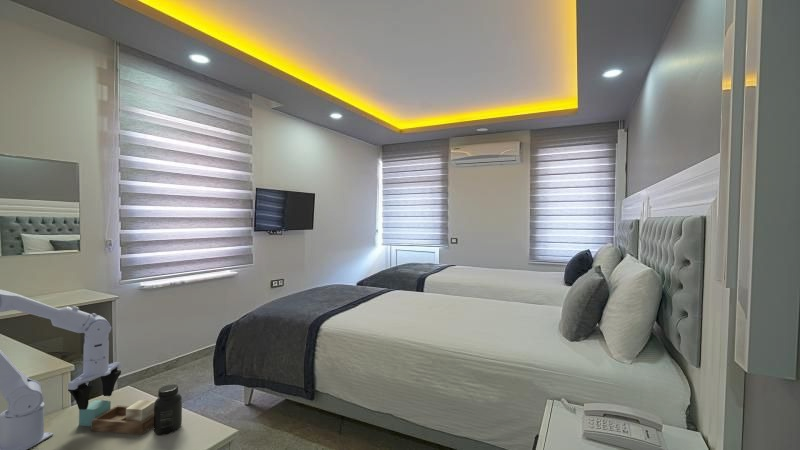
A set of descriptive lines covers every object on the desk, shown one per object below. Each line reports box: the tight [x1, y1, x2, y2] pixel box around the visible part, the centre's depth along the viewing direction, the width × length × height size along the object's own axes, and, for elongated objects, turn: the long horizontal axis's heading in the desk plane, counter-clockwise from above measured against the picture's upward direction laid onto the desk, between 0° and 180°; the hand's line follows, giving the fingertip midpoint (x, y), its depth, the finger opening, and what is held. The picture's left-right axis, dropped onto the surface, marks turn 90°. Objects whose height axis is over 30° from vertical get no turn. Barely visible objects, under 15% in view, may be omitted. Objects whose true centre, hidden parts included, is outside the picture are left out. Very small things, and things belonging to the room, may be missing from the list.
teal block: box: [78, 399, 112, 427], centre depth 103 cm, size 5×5×5 cm
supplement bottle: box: [153, 383, 183, 436], centre depth 99 cm, size 7×7×12 cm
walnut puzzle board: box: [90, 399, 156, 435], centre depth 101 cm, size 16×8×6 cm, turn 86°
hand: (95, 402), depth 103 cm, fingers open, 7 cm apart
